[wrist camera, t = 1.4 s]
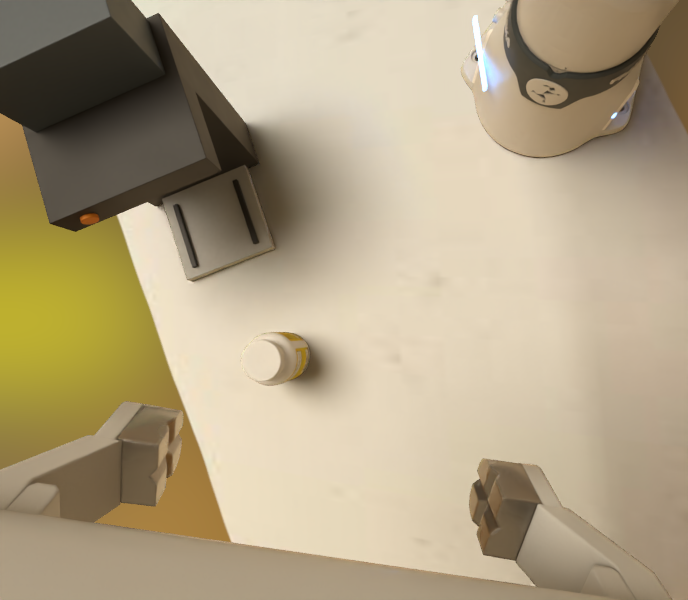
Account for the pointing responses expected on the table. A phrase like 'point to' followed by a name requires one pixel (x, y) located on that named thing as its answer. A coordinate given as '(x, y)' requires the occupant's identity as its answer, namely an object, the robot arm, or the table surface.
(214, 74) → the table surface
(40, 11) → the coffee maker
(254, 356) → the supplement bottle
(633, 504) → the table surface
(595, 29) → the robot arm
